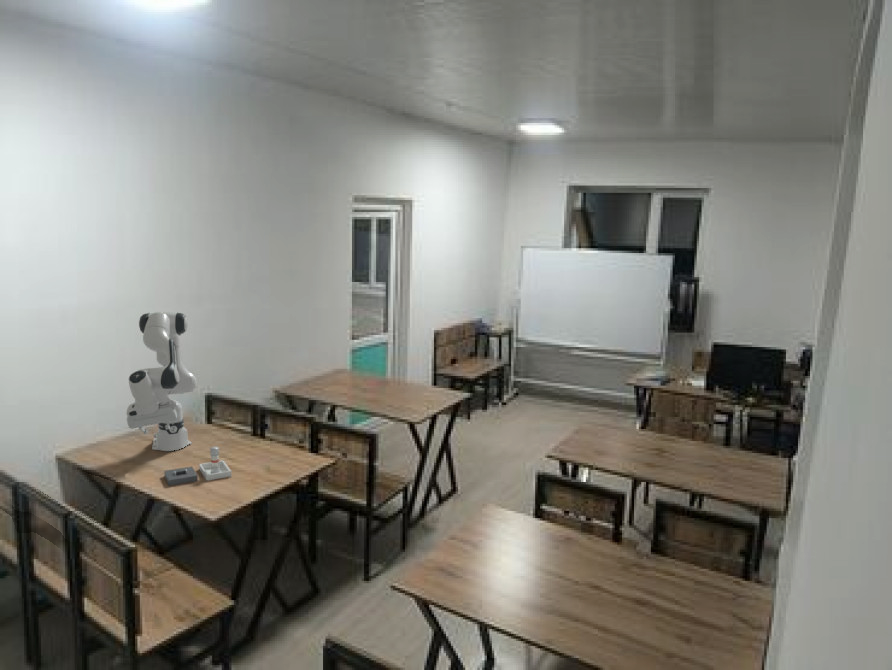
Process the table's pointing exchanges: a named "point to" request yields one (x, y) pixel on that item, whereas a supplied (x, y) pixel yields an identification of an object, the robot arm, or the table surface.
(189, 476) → the fuse holder
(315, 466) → the table surface
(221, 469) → the tray
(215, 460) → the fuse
